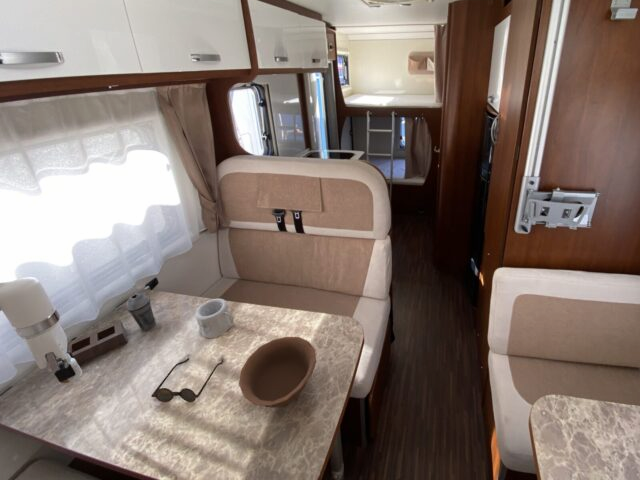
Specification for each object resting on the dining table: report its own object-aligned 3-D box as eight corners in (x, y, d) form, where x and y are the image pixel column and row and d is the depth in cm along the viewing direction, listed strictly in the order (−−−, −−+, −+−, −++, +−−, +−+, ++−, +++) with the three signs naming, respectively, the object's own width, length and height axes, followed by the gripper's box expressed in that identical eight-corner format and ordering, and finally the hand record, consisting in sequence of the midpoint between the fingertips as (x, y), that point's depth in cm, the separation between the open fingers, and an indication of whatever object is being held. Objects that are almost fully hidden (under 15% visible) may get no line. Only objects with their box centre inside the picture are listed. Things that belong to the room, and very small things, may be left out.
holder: (69, 370, 103) (63, 360, 101) (70, 354, 109) (64, 344, 107) (127, 342, 113) (122, 332, 111) (125, 329, 119) (120, 319, 117)
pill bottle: (58, 382, 84) (45, 363, 81) (77, 368, 88) (65, 349, 85) (67, 387, 83) (54, 368, 80) (86, 373, 87) (75, 354, 84)
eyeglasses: (154, 402, 92) (148, 391, 90) (186, 358, 105) (181, 348, 103) (200, 403, 91) (195, 392, 89) (226, 359, 104) (222, 348, 103)
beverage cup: (133, 331, 118) (113, 290, 110) (152, 317, 124) (134, 278, 116) (145, 336, 115) (125, 295, 108) (164, 322, 121) (146, 282, 114)
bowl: (296, 439, 81) (289, 413, 76) (230, 416, 87) (220, 391, 83) (332, 366, 100) (328, 342, 96) (276, 351, 106) (270, 328, 102)
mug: (195, 336, 114) (187, 316, 110) (215, 315, 124) (209, 296, 120) (226, 342, 111) (219, 321, 107) (244, 319, 121) (238, 300, 117)
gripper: (21, 312, 81) (51, 360, 88) (10, 351, 70) (46, 403, 76) (60, 298, 86) (86, 345, 93) (56, 333, 74) (86, 383, 81)
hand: (68, 371), depth 85 cm, fingers closed on pill bottle, 4 cm apart
